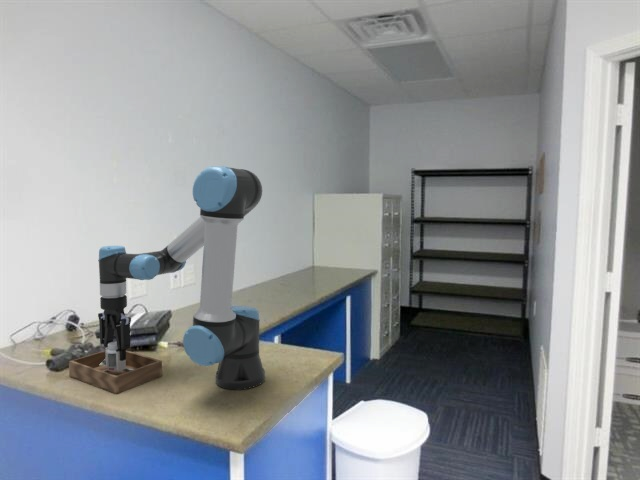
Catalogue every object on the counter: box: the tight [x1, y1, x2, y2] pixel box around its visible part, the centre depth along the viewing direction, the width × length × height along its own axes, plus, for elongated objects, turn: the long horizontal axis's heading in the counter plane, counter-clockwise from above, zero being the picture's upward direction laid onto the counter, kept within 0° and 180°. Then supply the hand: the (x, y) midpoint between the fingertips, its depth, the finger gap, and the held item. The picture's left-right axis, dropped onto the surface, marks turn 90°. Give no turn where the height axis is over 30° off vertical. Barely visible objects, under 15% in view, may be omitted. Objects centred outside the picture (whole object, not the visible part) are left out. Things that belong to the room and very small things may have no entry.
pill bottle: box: [107, 341, 118, 372], centre depth 140 cm, size 5×5×8 cm
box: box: [68, 350, 163, 395], centre depth 141 cm, size 24×16×5 cm, turn 58°
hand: (115, 368), depth 141 cm, fingers closed on pill bottle, 5 cm apart
